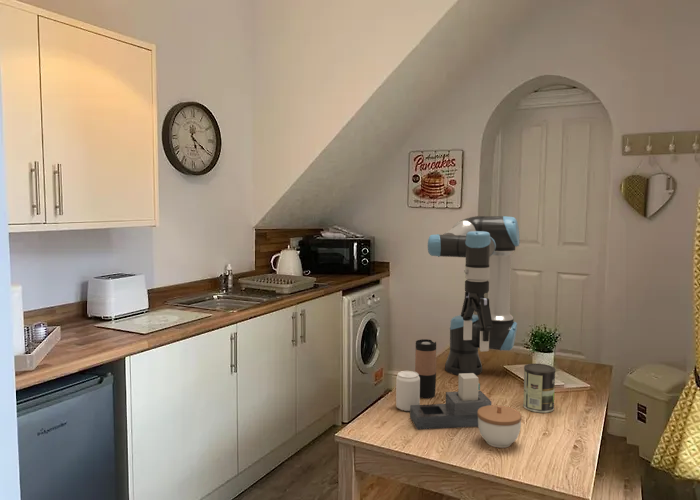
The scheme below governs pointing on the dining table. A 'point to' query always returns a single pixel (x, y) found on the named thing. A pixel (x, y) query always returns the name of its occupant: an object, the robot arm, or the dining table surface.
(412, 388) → the beverage can
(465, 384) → the plug
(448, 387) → the dining table surface
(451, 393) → the grey stepped socket block
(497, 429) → the lidded bowl
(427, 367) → the travel mug
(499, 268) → the robot arm
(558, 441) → the dining table surface
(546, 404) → the coffee can
